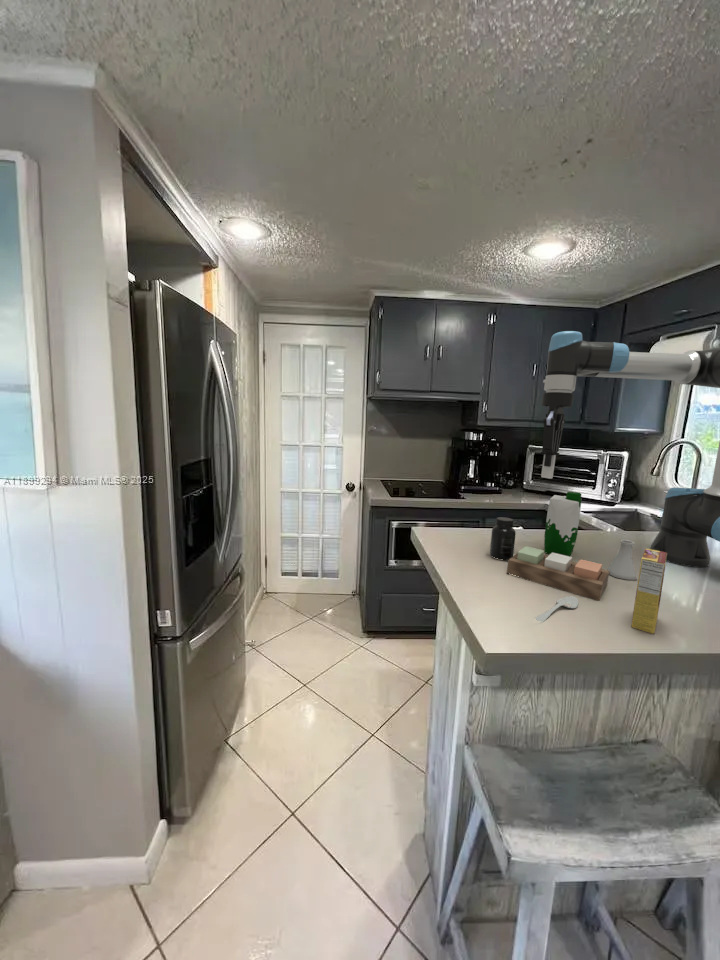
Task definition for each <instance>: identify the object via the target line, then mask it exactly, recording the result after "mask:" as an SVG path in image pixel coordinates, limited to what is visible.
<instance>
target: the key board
mask: <svg viewBox="0 0 720 960" xmlns="http://www.w3.org/2000/svg"><path fill="white" fill-rule="evenodd" d="M548 556H549V554H548V555H547V554H544V558H543V560H542V561H541V562H540V563H538V564H533V563H529V562H525V561H521V560H518V559H517V557H518V552H517V553H515V555H514V554H513V557H512V558H510V559H509V560H507V562H508V563H507V571H506V574H507V573H510V574H513V575H516V576H519V577H518V578H520V577H522V578H521V579H523V578H524V579H523V580H527V579H528V580H527V581H530V580H531V582H534V583H538V584H541V585H545V586H548V587H552V588H555V589H558V590H561V591H565V592H569V593H572V594H575V595H579V596H581V597H586V598H589V599H592V600H596V601H601V599H602V596H603V594H604V592H605V591H606V588H607V586H608V584H609V583H608V582H609V576H610V574H609V571H608V570H607V569H603V568H602V570H601V576H600V577H599V579H598V581H597V580H593V579H589V578H586V577H582V576H578V575H574V569H575V566H576V564H577V563H578V562H575V561H572V563H571V567H570V568H569V569H568V571H567V572H563V571H559V570H555V569H552V568H548V567H544V565H545V559H546V558H547V557H548ZM513 575H512V576H513ZM516 576H515V577H516Z"/></svg>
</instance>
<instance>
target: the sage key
mask: <svg viewBox="0 0 720 960" xmlns="http://www.w3.org/2000/svg"><path fill="white" fill-rule="evenodd" d="M517 553H518V557H517V559H518V560H521V561H525V562H529V563H533V564H538V563H540V562H541V561H542V560H543V558H544V555H545V553H544V550H543V549H540V548H535V547H531V546H527V545H526V546H524V547H523V548H521V549H520V550H518V552H517Z"/></svg>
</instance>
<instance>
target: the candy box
mask: <svg viewBox="0 0 720 960" xmlns="http://www.w3.org/2000/svg"><path fill="white" fill-rule="evenodd" d="M666 557H667V553H666V552H662V551H657V550H651V549H650V548H645V549H644V550H643V554H642V556H641V560H640V565H639V572H638V578H637V585H636V592H635V593H636V594H635V598H634V605H633V612H632V618H631V619H632V620H631V626H630V627H631V628H633V629H636V630H639V631H643V632H645V633H649V634H652V635H653V634H654V635H655V631H656V627H657V621H658V616H659V610H660V604H661V598H662V591H663V585H664V577H665V570H666V563H667V561H666Z"/></svg>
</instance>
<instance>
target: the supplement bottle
mask: <svg viewBox="0 0 720 960" xmlns="http://www.w3.org/2000/svg"><path fill="white" fill-rule="evenodd" d="M495 520H496V521H495V525H494V526H493V527H492V529H491V536H490V537H491V538H490V547H489V555H490V557H491V556H493V557H495V558H498V559H503V560H502V561H508V560H509V559H510V558H512V557H513V556H514V553H515V543H516V535H517V534H516V533H517V532H516V530H515V529H514V528H513V526H514V519H513V518H509V517H499V516H498V517H496V519H495ZM493 557H492V558H493ZM495 558H494V559H495ZM498 559H497V560H498Z"/></svg>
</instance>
